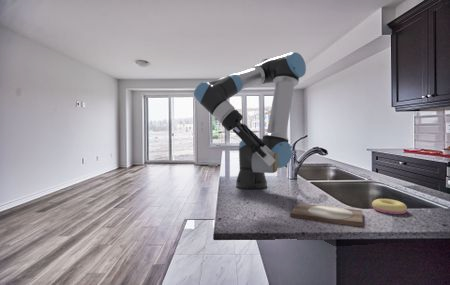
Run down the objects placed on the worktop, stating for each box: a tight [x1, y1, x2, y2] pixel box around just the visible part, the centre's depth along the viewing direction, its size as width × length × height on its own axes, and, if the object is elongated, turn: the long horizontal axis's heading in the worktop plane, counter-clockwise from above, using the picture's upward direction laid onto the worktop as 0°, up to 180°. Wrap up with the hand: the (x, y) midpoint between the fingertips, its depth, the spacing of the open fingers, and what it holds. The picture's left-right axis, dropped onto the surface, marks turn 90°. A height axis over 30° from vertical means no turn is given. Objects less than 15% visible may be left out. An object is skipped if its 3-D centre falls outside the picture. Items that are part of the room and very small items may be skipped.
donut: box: [371, 198, 408, 216], centre depth 85 cm, size 10×5×9 cm
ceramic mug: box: [252, 151, 279, 174], centre depth 90 cm, size 11×8×8 cm
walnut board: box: [289, 203, 364, 228], centre depth 81 cm, size 13×20×1 cm, turn 63°
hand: (274, 161), depth 88 cm, fingers closed on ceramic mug, 8 cm apart
